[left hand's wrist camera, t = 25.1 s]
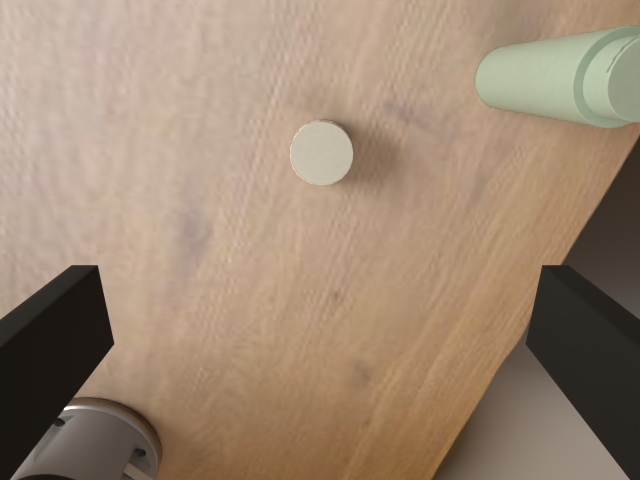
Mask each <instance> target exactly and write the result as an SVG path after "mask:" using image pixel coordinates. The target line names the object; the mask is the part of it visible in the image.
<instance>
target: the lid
mask: <svg viewBox="0 0 640 480" xmlns="http://www.w3.org/2000/svg"><path fill="white" fill-rule="evenodd" d="M350 140H351V138H350V136H348V135H347V133H346V132H345V130H344V129H343V127H341V126H339V125H338V124H336V123H334V122H332V120H331V121H329V120H322V119H321V120H320V119H319V120H314V121H311V122H309V123H308V122H307V124H305V125H304V126H302V127H301V128H300V129H299V130H297V133H296V135H295V137H294V139H293V140H292V142H291V144H292V145H291V149H290V159H291V163H292V166H293V169H294V170H295V172H296V173H297V174H298V175H299V176H300V177H301V178H302V179H303V180H305V181H306V182H308V183H310V184H313V185H320V186H323V185H330V184H333V183H335V182H337V181H339V180H340V179H341V178H343V177H344V176H345V175H346V173H347V172H348V171H349V169H350V167H351V164H352V161H353V152H354V150H353V147H352V143H351V141H350Z"/></svg>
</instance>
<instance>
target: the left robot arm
mask: <svg viewBox="0 0 640 480" xmlns="http://www.w3.org/2000/svg"><path fill="white" fill-rule="evenodd" d="M113 345H114V340H113V335H112V331H111V326H110V321H109V316H108V312H107V307H106V302H105V298H104V293H103V288H102V283H101V279H100V274H99V269H98V265H72V266H70V267H69V268H68V269H66V270H65V271H64V272H62V273H61V274H60V275H58V276H57V277H56V278H54V279H53V280H52V281H50V282H49V283H48V284H47V285H45V286H44V287H43V288H41V289H40V290H39V291H37V292H36V293H35V294H33V295H32V296H31V297H29V298H28V299H27V300H26V301H24V302H23V303H22V304H20V305H19V306H18V307H16V308H15V309H14V310H12V311H11V312H10V313H8V314H7V315H6V316H5V317H3V318H2V319H1V320H0V480H10V479H11V480H154V478H155V475H156V473H157V471H158V468H159V466H160V463H161V457H162V450H161V445H160V441H159V439H158V437H157V435H156V433H155V431H154V430H153V429H152V427H151V426H150V425H149V424H148V423H147V422H146V421H145V420H144V419H143V418H142V417H141V416H139V415H138V414H137V413H135V412H134V411H132V410H130V409H128V408H127V407H125V406H122V405H120V404H117V403H115V402H112V401H108V400H103V399H98V398H74V399H72V398H73V397H74V396H75V394H76V393H77V392H78V391H79V389H80V388H81V387H82V385H83V384H84V383H85V381H86V380H87V379H88V378H89V376H90V375H91V374H92V372H93V371H94V370H95V368H96V367H97V366H98V365H99V363H100V362H101V361H102V359H103V358H104V357H105V355H106V354H107V353H108V352H109V350H110V349H111V348H112V346H113ZM526 345H527V346H528V348H529V349H530V350H531V352H532V353H533V354H534V355H535V357H536V358H537V359H538V361H539V362H540V363H541V364H542V366H543V367H544V368H545V370H546V371H547V372H548V374H549V375H550V376H551V378H552V379H553V380H554V381H555V383H556V384H557V385H558V386H559V388H560V389H561V390H562V392H563V393H564V394H565V396H566V397H567V398H568V400H569V401H570V402H571V404H572V405H573V406H574V407H575V409H576V410H577V411H578V413H579V414H580V415H581V417H582V418H583V419H584V420H585V422H586V423H587V424H588V426H589V427H590V428H591V430H592V431H593V432H594V433H595V435H596V436H597V437H598V439H599V440H600V441H601V443H602V444H603V445H604V446H605V448H606V449H607V450H608V452H609V453H610V454H611V456H612V457H613V458H614V460H615V461H616V462H617V463H618V465H619V466H620V467H621V469H622V470H623V471H624V473H625V474H626V475H627V476H628V478H629V479H630V480H640V320H639V319H638V318H637V317H635V316H634V315H633V314H632V313H630V312H629V311H628V310H626V309H625V308H624V307H622V306H621V305H620V304H618V303H617V302H616V301H614V300H613V299H612V298H611V297H609V296H608V295H607V294H605V293H604V292H603V291H601V290H600V289H599V288H597V287H596V286H595V285H593V284H592V283H591V282H590V281H588V280H587V279H586V278H584V277H583V276H582V275H580V274H579V273H578V272H576V271H575V270H574V269H572V268H571V267H570V266H568V265H542V269H541V274H540V279H539V283H538V288H537V293H536V298H535V302H534V307H533V312H532V316H531V321H530V326H529V331H528V336H527V340H526Z"/></svg>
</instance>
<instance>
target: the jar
mask: <svg viewBox="0 0 640 480" xmlns="http://www.w3.org/2000/svg"><path fill="white" fill-rule="evenodd" d="M475 87H476V91H477V94H478V96H479V98H480V99H481V100H482V101H483V102H484V103H485V104H486V105H488V106H490V107H492V108H497V109H502V110H507V111H513V112H518V113H524V114H529V115H535V116H540V117H546V118H551V119H557V120H562V121H568V122H573V123H579V124H584V125H590V126H595V127H601V128H617V127H621V126H625V125H628V124H630V123H632V122H635V123H640V26H624V27H618V28H612V29H606V30H600V31H594V32H588V33H582V34H576V35H569V36H563V37H557V38H551V39H545V40H539V41H533V42H527V43H521V44H514V45H508V46H503V47H499V48H497V49H495V50H493V51H492V52H490V53H489V54H488V55H487V56H486V57H485V58H484V59H483V60H482V62H481V63H480V65H479V67H478V70H477V73H476V77H475Z"/></svg>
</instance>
